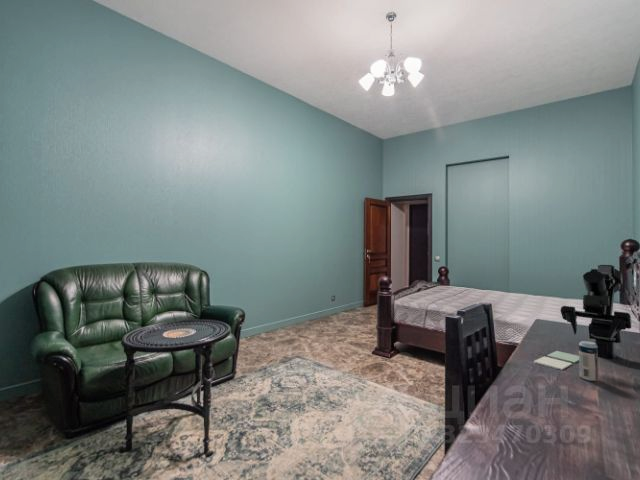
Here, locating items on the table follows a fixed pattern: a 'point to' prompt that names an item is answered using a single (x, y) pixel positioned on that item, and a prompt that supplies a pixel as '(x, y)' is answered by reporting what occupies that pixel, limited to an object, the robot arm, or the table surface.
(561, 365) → the cream coaster
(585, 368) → the cream labeled canister
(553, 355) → the sage coaster
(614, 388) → the table surface
